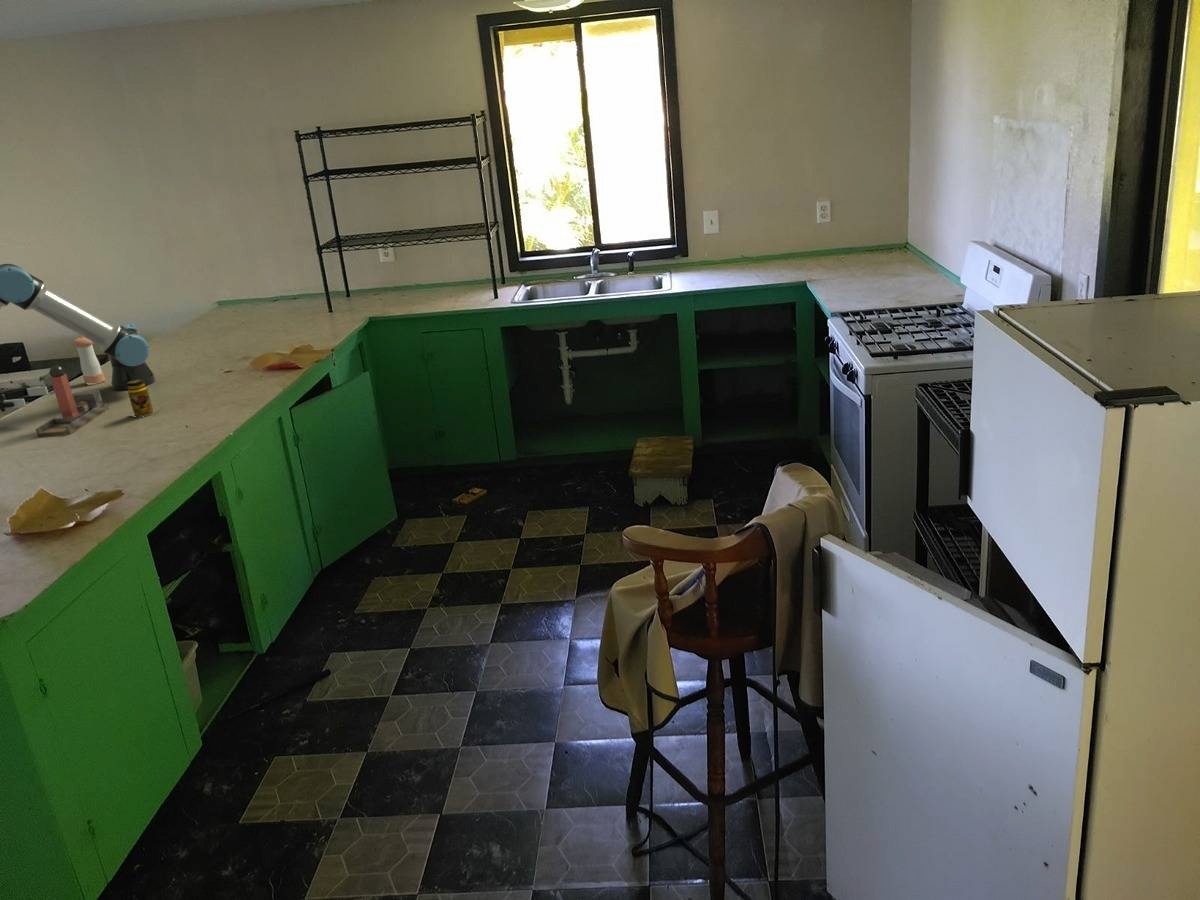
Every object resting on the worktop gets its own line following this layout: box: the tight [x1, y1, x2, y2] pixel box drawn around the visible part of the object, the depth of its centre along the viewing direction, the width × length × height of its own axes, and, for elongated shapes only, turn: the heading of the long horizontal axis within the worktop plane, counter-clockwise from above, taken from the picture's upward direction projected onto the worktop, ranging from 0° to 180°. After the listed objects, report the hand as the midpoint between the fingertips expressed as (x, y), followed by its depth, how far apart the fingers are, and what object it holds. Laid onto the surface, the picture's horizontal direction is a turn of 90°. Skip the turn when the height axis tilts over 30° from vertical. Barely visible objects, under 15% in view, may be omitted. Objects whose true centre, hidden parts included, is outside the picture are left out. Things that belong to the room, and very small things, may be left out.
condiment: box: [127, 379, 160, 417], centre depth 321 cm, size 7×8×12 cm
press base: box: [35, 389, 110, 438], centre depth 319 cm, size 26×11×7 cm, turn 0°
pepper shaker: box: [72, 335, 106, 384], centre depth 367 cm, size 7×7×19 cm
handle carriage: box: [49, 365, 89, 423], centre depth 317 cm, size 9×8×19 cm
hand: (36, 396), depth 316 cm, fingers open, 13 cm apart
